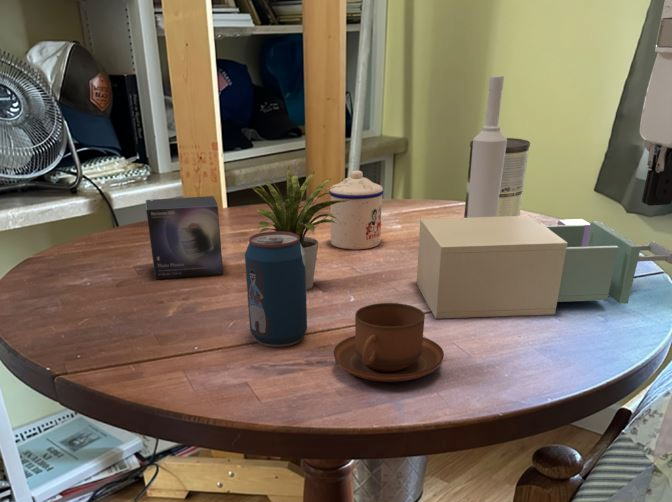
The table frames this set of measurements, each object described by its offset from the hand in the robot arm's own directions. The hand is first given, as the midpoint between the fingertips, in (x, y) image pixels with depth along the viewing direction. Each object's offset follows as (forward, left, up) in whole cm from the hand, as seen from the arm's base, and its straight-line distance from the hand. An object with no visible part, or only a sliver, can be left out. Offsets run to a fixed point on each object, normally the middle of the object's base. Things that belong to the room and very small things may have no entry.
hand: (656, 203), depth 91 cm
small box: (+64, -17, -12) cm, 67 cm away
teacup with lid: (+36, -32, -12) cm, 49 cm away
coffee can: (+10, -41, -12) cm, 44 cm away
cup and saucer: (+38, +22, -12) cm, 45 cm away
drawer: (+8, 0, -11) cm, 13 cm away
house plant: (+48, -7, -12) cm, 49 cm away
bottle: (+16, -26, -12) cm, 32 cm away
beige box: (+22, 0, -12) cm, 25 cm away
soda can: (+50, +12, -12) cm, 52 cm away
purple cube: (+1, -24, -12) cm, 27 cm away
